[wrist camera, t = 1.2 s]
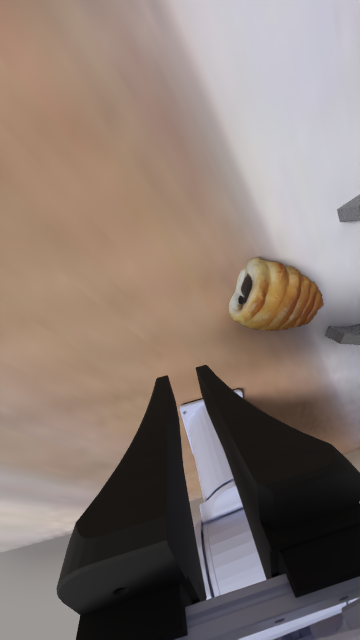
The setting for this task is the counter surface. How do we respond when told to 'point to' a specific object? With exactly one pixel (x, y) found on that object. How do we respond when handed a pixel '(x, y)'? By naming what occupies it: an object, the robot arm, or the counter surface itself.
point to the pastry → (273, 296)
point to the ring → (356, 334)
